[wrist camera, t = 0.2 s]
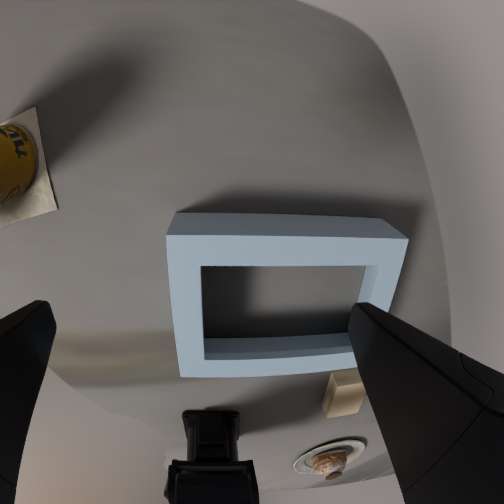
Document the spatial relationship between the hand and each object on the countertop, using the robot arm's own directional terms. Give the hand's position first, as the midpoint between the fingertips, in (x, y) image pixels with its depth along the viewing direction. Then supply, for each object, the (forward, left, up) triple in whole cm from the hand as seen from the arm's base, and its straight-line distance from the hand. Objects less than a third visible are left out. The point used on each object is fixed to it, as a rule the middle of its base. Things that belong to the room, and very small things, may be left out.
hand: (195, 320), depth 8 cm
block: (-22, -15, -15) cm, 30 cm away
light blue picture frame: (-8, -6, -14) cm, 17 cm away
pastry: (-41, -18, -15) cm, 47 cm away
